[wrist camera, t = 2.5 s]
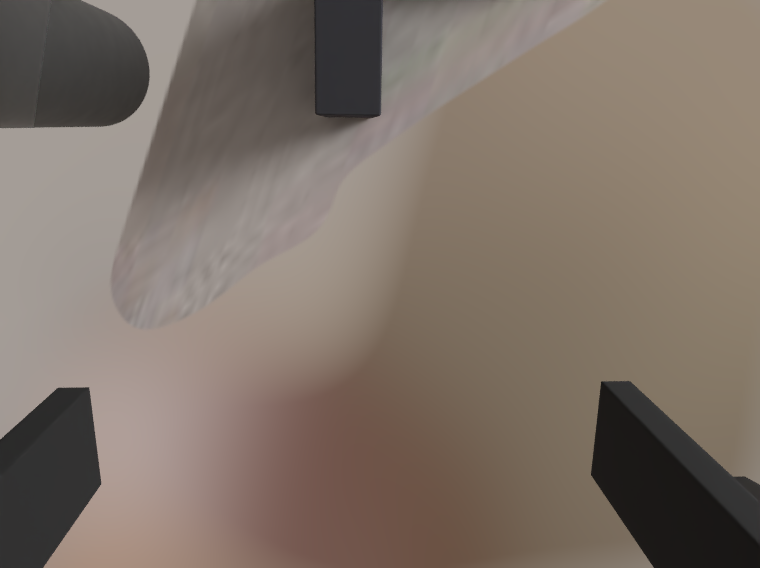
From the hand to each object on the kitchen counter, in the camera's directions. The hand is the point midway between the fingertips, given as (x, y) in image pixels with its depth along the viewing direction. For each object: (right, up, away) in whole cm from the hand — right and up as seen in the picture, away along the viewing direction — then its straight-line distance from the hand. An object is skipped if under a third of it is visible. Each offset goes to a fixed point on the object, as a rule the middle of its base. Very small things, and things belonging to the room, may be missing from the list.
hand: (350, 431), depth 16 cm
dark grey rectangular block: (-1, +18, +21) cm, 28 cm away
